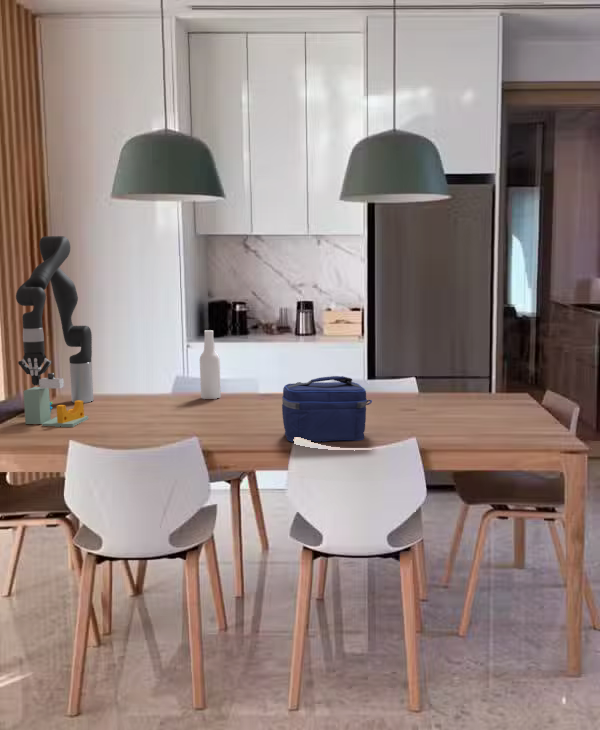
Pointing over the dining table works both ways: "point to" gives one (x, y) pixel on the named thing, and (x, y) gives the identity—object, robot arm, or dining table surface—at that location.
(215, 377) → the alcohol
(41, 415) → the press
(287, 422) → the lunch bag
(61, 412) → the yellow notched block
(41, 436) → the dining table surface
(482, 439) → the dining table surface
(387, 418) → the dining table surface
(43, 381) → the grey block
